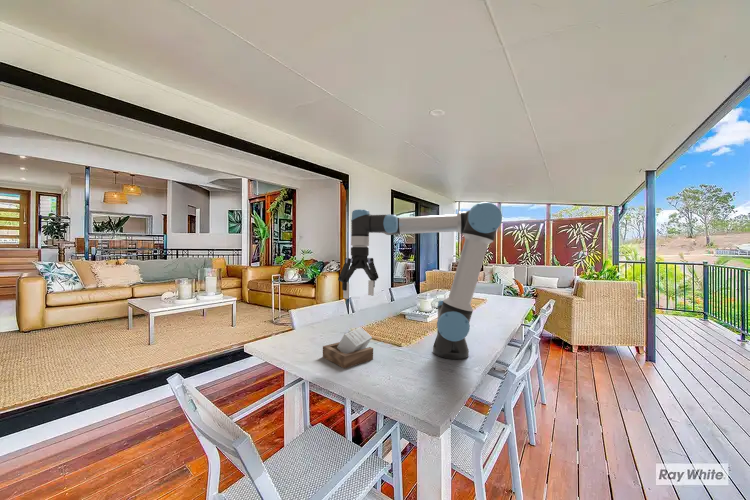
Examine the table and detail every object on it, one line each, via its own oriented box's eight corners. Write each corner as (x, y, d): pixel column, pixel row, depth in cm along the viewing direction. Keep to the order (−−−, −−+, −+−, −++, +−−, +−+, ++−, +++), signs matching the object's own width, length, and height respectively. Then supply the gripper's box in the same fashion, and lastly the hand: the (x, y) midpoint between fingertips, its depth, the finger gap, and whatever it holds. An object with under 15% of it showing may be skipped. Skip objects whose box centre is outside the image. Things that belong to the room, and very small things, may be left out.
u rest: (373, 359, 118) (373, 348, 118) (344, 368, 109) (344, 356, 109) (350, 349, 129) (350, 339, 129) (322, 357, 120) (322, 346, 120)
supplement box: (365, 349, 126) (348, 360, 115) (353, 338, 129) (335, 347, 118) (373, 337, 124) (356, 346, 113) (360, 325, 127) (343, 334, 116)
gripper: (375, 247, 134) (374, 293, 134) (330, 245, 117) (329, 298, 117) (386, 247, 128) (386, 295, 128) (341, 246, 111) (340, 301, 111)
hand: (358, 296), depth 123 cm, fingers open, 13 cm apart
